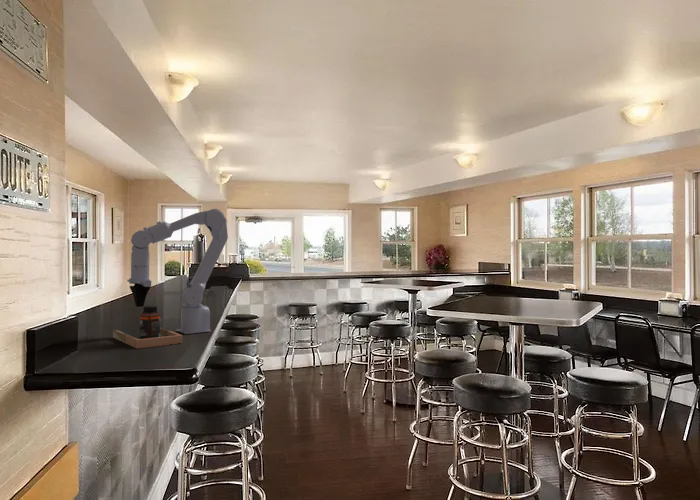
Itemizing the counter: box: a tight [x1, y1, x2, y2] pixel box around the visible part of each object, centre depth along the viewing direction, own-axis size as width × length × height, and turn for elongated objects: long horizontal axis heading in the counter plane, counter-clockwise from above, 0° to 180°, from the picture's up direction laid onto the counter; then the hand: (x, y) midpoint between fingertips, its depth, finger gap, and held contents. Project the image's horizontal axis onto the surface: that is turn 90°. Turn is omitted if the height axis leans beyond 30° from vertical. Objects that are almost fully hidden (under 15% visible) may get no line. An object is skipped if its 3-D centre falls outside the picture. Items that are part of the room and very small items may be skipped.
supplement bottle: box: [139, 305, 161, 339], centre depth 162 cm, size 6×6×11 cm
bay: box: [112, 327, 184, 350], centre depth 164 cm, size 14×22×2 cm, turn 42°
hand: (139, 306), depth 174 cm, fingers closed
